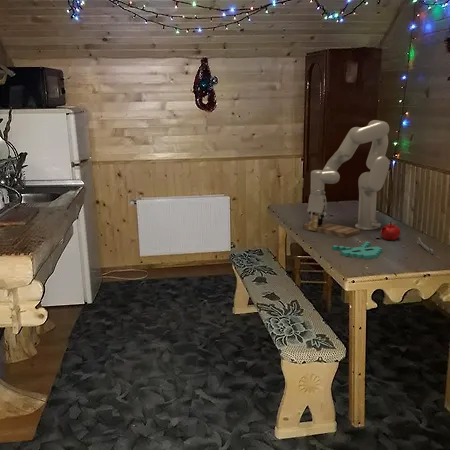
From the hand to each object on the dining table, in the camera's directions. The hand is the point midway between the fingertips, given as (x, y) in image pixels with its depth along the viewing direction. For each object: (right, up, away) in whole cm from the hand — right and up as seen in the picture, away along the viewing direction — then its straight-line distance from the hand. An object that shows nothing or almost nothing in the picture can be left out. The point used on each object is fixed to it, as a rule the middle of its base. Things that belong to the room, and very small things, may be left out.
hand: (316, 224), depth 295 cm
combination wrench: (+46, -13, -38) cm, 61 cm away
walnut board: (+7, -4, -2) cm, 9 cm away
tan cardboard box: (0, -3, +1) cm, 4 cm away
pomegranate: (+35, -8, -20) cm, 41 cm away
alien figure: (+14, -15, -41) cm, 46 cm away
